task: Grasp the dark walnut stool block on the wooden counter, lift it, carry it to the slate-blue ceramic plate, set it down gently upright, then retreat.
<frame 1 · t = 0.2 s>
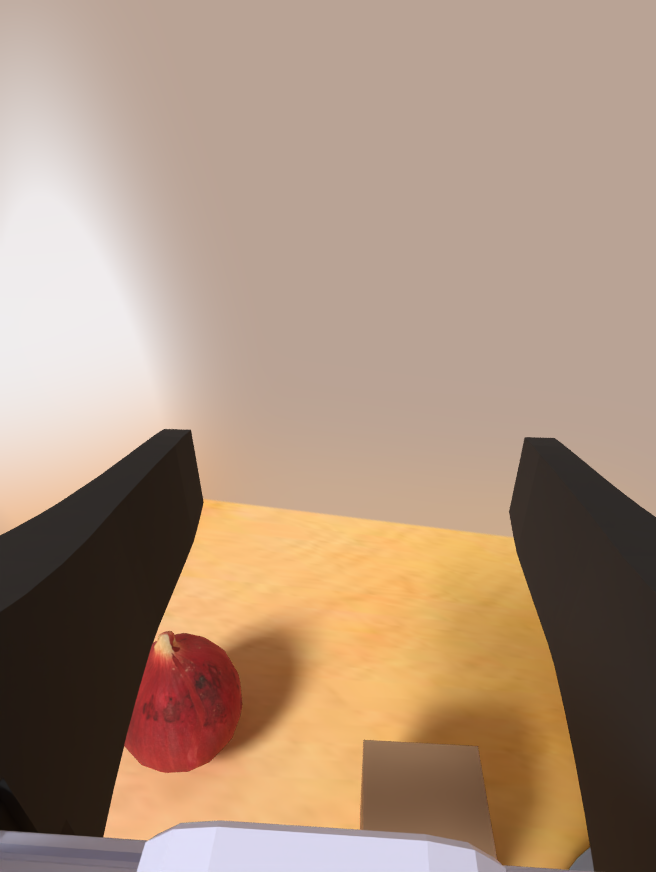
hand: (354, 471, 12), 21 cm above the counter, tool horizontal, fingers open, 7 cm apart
onion: (191, 747, 29), on the counter
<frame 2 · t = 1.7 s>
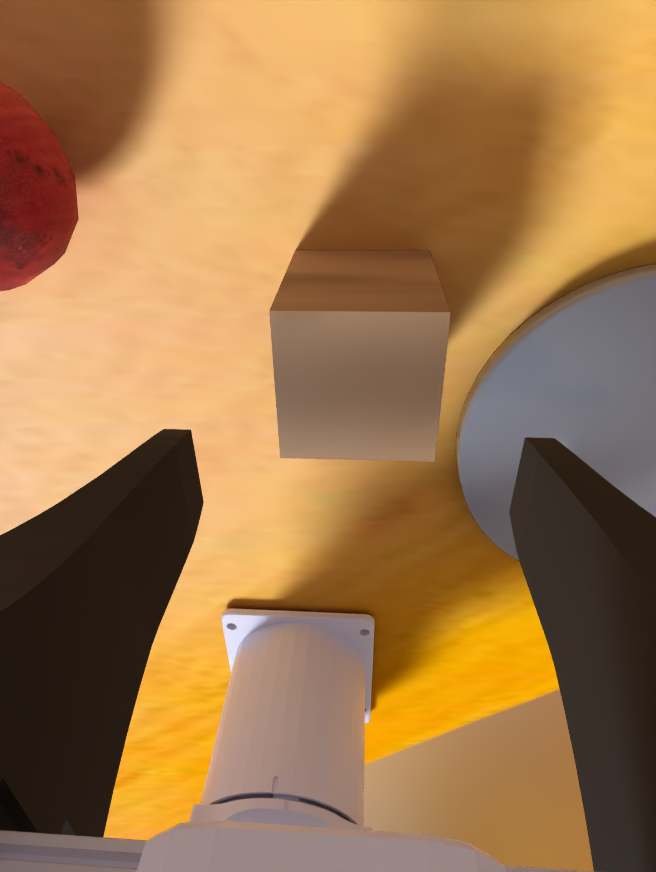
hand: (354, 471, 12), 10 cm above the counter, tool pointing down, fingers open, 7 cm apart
walnut stool block: (360, 314, 20), on the counter
plate: (633, 437, 22), on the counter
onion: (32, 165, 19), on the counter
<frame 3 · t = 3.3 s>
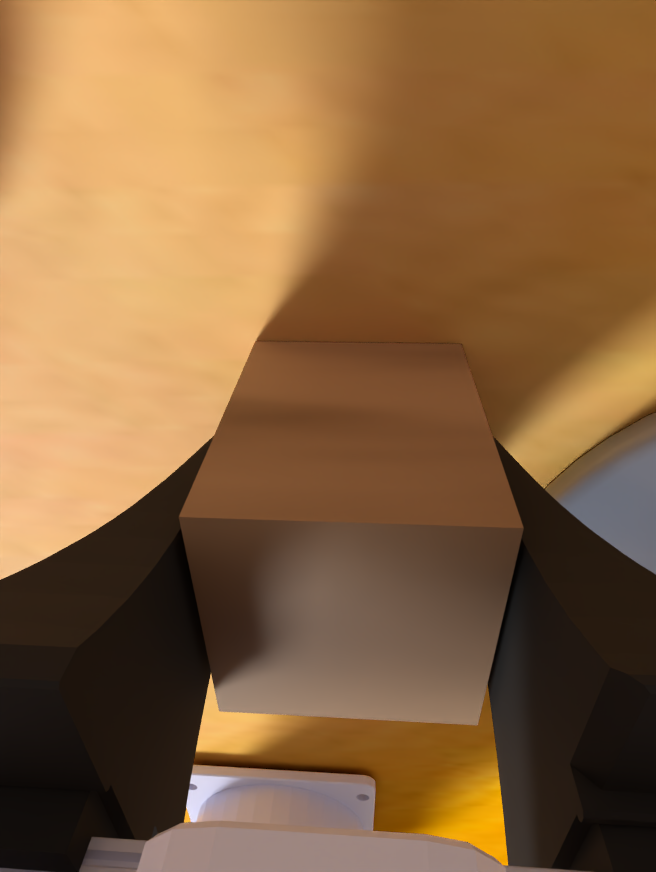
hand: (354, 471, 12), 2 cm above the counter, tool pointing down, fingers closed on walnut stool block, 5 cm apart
walnut stool block: (355, 429, 14), on the counter, touching gripper
when the fingers open (4 cm above the counter, at t = 8.5 s): walnut stool block stays where it is, resting on plate.
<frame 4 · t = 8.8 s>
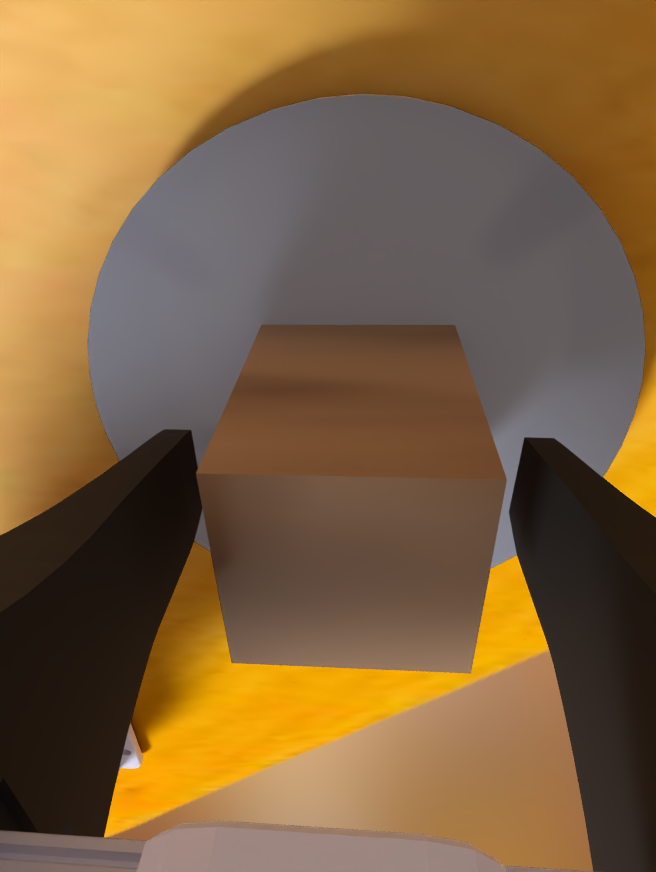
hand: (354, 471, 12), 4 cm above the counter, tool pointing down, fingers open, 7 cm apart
walnut stool block: (356, 408, 15), point 1 cm above the counter, touching plate
plate: (357, 388, 16), on the counter
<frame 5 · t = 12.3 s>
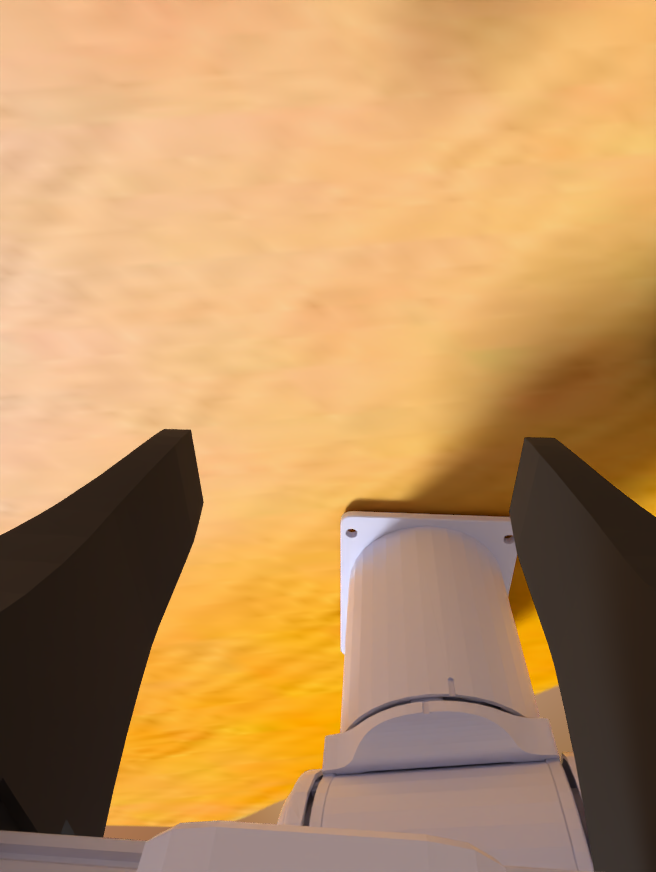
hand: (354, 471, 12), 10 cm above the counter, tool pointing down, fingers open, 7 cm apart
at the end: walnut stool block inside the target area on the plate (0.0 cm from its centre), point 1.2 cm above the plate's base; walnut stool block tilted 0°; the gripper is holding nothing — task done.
